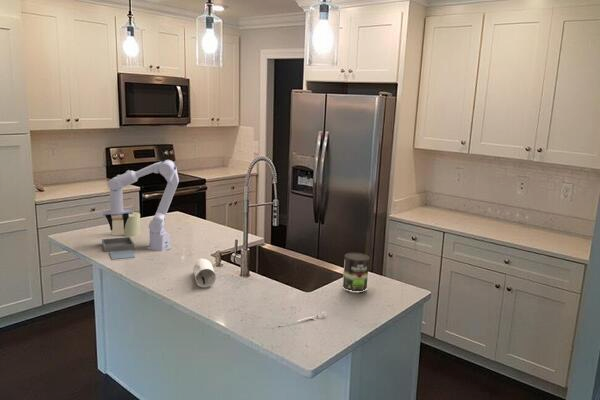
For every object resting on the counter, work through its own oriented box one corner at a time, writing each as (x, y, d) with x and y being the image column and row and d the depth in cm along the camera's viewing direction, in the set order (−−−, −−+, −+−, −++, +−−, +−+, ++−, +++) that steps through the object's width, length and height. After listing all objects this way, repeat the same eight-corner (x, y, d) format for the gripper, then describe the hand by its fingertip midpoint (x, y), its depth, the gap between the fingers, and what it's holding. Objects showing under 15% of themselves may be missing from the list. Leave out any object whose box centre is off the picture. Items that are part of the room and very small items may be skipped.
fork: (275, 327, 163) (275, 322, 163) (323, 314, 174) (323, 310, 173) (279, 331, 161) (279, 326, 160) (328, 318, 171) (328, 313, 170)
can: (137, 238, 250) (136, 216, 247) (119, 237, 250) (118, 215, 247) (143, 233, 259) (142, 211, 256) (126, 232, 259) (125, 210, 256)
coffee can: (370, 293, 194) (373, 260, 191) (346, 293, 192) (348, 260, 189) (362, 283, 204) (365, 252, 201) (339, 284, 202) (341, 252, 199)
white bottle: (210, 270, 210) (210, 253, 208) (215, 287, 192) (215, 268, 191) (192, 271, 208) (192, 254, 206) (195, 288, 190) (195, 269, 188)
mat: (131, 252, 228) (131, 250, 228) (135, 258, 219) (134, 256, 219) (109, 254, 223) (109, 252, 223) (111, 261, 215) (111, 259, 215)
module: (122, 231, 235) (121, 217, 234) (123, 234, 231) (123, 219, 229) (111, 232, 233) (111, 217, 231) (112, 235, 228) (112, 220, 227)
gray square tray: (130, 242, 242) (130, 236, 242) (134, 250, 231) (134, 244, 230) (101, 245, 236) (101, 239, 235) (104, 253, 224) (104, 247, 224)
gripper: (131, 199, 235) (131, 225, 238) (99, 201, 228) (100, 228, 231) (133, 202, 229) (134, 229, 232) (101, 204, 222) (102, 232, 225)
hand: (117, 229), depth 231 cm, fingers closed on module, 5 cm apart
